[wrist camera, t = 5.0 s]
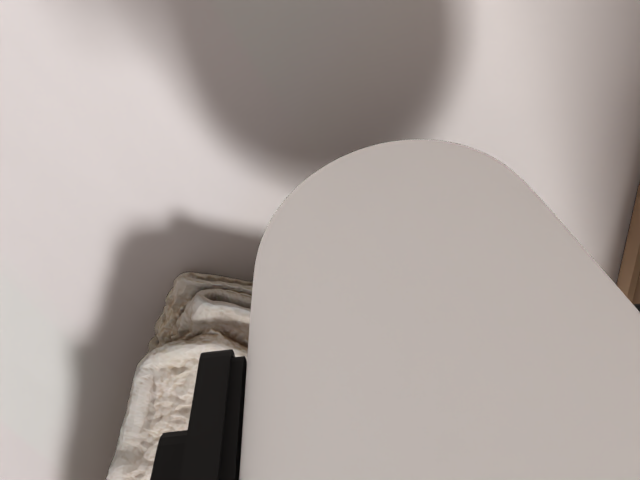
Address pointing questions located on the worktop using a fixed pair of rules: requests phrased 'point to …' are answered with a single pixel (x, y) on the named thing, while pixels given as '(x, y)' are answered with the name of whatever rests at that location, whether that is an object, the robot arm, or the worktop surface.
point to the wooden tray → (632, 258)
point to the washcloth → (179, 364)
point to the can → (434, 331)
